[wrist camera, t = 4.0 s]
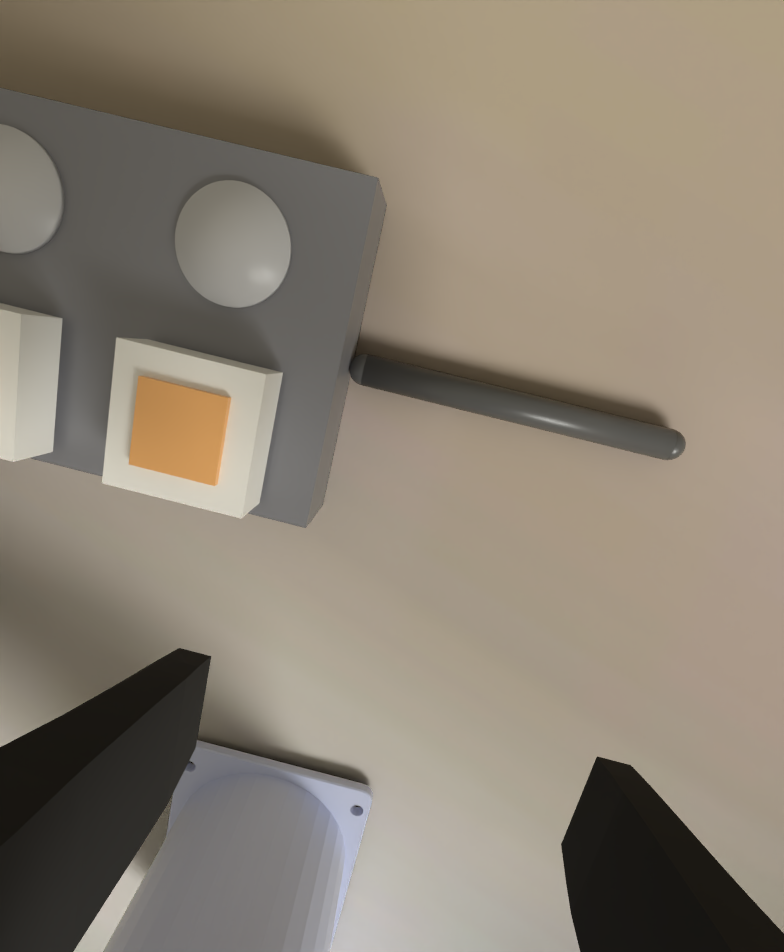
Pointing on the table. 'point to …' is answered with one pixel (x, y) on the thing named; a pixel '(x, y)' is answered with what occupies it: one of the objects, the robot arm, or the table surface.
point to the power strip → (220, 284)
